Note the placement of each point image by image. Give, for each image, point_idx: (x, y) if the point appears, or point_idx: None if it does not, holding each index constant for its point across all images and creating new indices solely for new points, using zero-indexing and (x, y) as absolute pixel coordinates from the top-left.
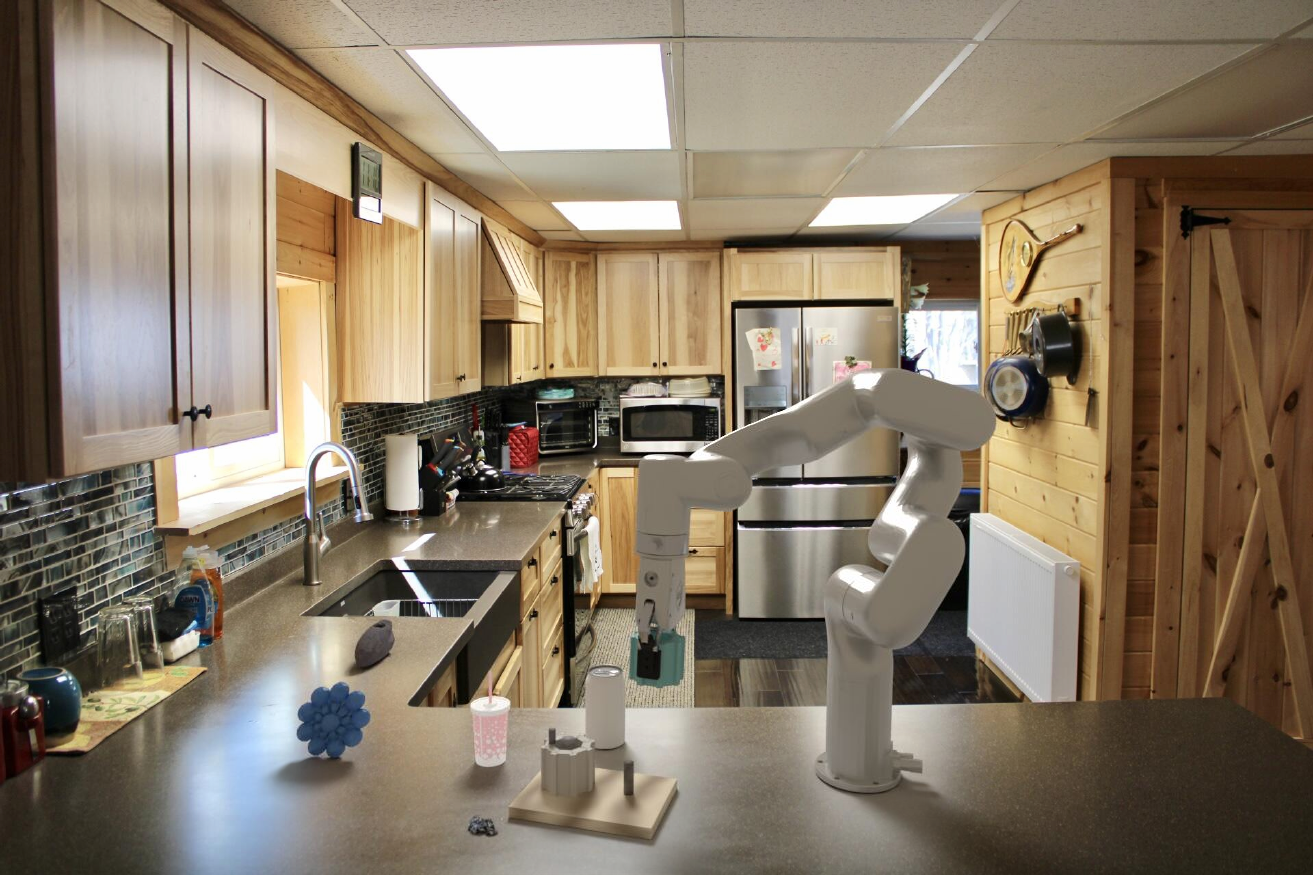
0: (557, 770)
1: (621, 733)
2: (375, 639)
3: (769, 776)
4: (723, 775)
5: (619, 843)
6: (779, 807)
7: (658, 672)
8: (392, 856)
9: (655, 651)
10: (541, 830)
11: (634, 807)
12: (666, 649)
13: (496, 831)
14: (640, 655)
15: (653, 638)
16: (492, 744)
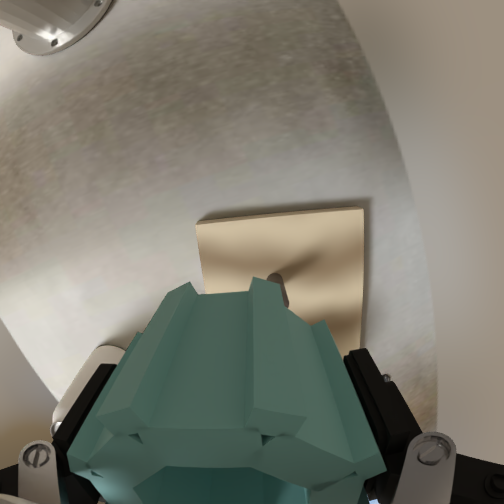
0: None
1: (109, 355)
2: None
3: (101, 98)
4: (123, 166)
5: (377, 243)
6: (193, 51)
7: (374, 365)
8: (426, 414)
9: (435, 438)
10: (370, 341)
11: (314, 255)
12: (336, 428)
13: (386, 376)
14: None
15: (498, 483)
16: None
